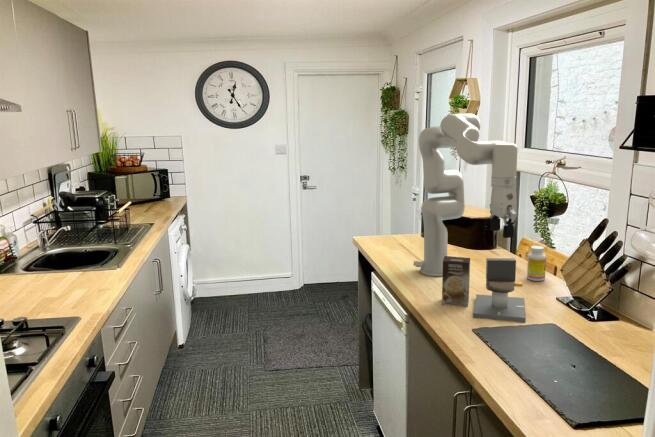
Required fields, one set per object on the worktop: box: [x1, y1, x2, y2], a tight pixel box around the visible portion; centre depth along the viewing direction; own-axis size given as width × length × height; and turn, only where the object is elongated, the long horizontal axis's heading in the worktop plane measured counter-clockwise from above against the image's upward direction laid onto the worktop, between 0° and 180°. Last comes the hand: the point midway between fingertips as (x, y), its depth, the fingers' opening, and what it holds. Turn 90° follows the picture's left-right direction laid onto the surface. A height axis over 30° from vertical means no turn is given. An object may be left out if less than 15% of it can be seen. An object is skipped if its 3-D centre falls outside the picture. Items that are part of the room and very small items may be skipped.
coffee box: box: [441, 255, 471, 308], centre depth 180 cm, size 9×6×16 cm
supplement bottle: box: [526, 245, 547, 282], centre depth 202 cm, size 7×7×13 cm
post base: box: [472, 291, 527, 323], centre depth 173 cm, size 16×18×7 cm
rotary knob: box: [485, 257, 524, 294], centre depth 171 cm, size 12×9×10 cm
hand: (501, 233), depth 169 cm, fingers open, 9 cm apart
